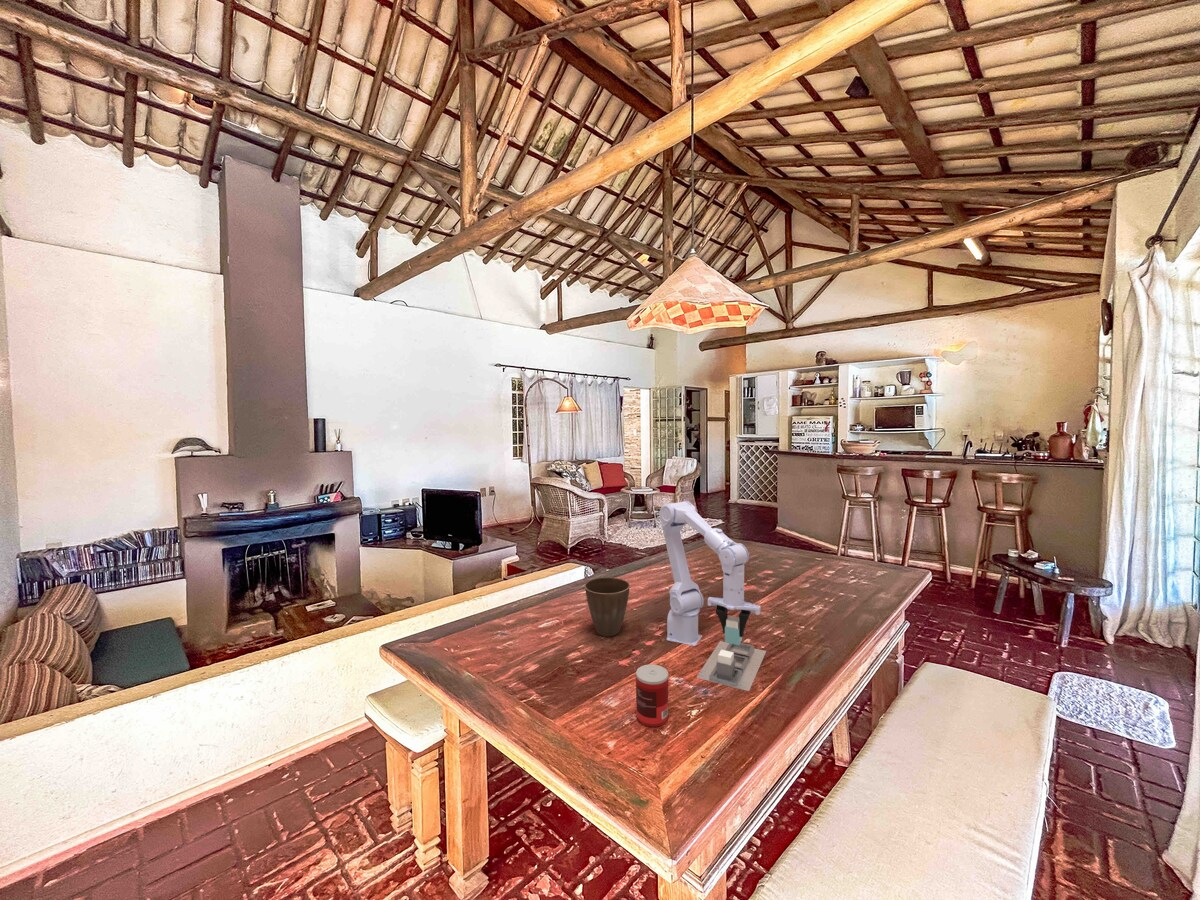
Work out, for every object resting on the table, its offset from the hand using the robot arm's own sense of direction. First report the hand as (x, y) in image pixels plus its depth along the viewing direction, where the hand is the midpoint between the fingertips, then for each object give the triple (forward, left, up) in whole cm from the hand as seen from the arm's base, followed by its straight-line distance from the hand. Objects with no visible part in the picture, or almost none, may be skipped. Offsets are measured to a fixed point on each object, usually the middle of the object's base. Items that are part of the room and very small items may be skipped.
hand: (733, 633), depth 136 cm
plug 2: (0, -8, -9) cm, 12 cm away
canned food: (-11, -33, -10) cm, 36 cm away
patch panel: (0, 0, -9) cm, 9 cm away
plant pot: (-42, +2, -10) cm, 43 cm away
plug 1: (0, 0, -2) cm, 2 cm away
